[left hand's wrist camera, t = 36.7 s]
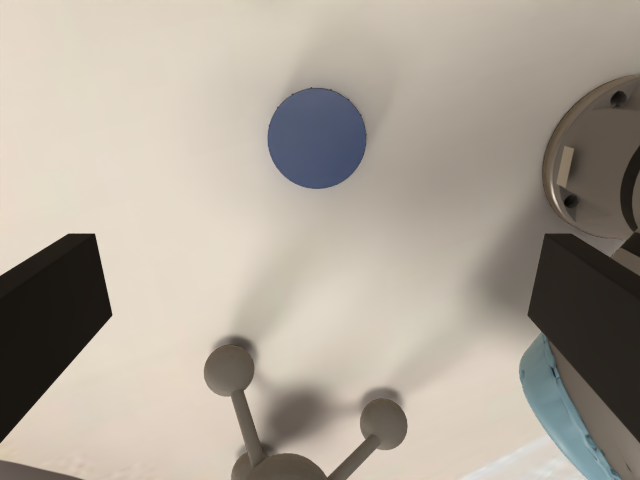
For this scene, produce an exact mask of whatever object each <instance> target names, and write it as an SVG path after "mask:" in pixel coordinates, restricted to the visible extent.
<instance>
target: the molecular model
mask: <svg viewBox="0 0 640 480" xmlns="http://www.w3.org/2000/svg"><path fill="white" fill-rule="evenodd" d="M253 375H254V363H253V360H252V358H251V356H250V354H249V353H248V352H247V351H246V350H245V349H243V348H241V347H239V346H236V345H225V346H222V347H220V348H218V349H216V350H215V351H214V352H213V353H212V354H211V355H210V356H209V357H208V359H207V361H206V363H205V367H204V378H205V381H206V384H207V385H208V387H209V388H210V389H211V390H212V391H213V392H214V393H216V394H218V395H220V396H227V397H229V396H231V398H232V402H233V405H234V408H235V412H236V415H237V418H238V422H239V425H240V428H241V432H242V435H243V438H244V442H245V445H246V448H247V453H245V454H244V455H242V456H241V457H240V458H239V459H238V460H237V461H236V463H235V465H234V467H233V470H232V475H231V480H346V479H347V478H348V477H349V476H350V475H351V474H352V473H353V472H354V471H355V470H356V469H357V468H358V467H359V466H360V465H361V464H362V463H363V462H364V461H365V460H366V458H367V457H368V456H369V455H370V454H371V453H372V452H373V451H374V450H375V449H376V448H377V449H380V450H390V449H393V448H396V447H397V446H398V445H400V444H401V443H402V441H403V440H404V438H405V436H406V433H407V419H406V416H405V414H404V412H403V410H402V409H401V407H400V406H399V405H397V404H396V403H395V402H393V401H391V400H388V399H377V400H374V401H372V402H370V403H369V404H368V405H367V406H366V407H365V408H364V410H363V412H362V414H361V418H360V427H361V432H362V434H363V436H364V438H365V439H366V440H365V441H364V442H363V443H362V444H361V445H360V446H359V447H358V448H357V449H356V450H355V451H354V452H353V453H352V454H351V455H350V456H349V457H348V458H347V459H346V460H345V461H344V462H343V463H342V464H341V465H340V466H339V467H338V468H337V469H336V470H335V471H334V472H333V473H331V474H330V475H329V476H328V477H326V475H325V474H324V472H323V471H322V470H321V469H320V468H319V467H318V466H317V465H316V464H315V463H313V462H312V461H311V460H309V459H308V458H306V457H303V456H300V455H297V454H291V453H283V454H277V455H273V456H270V457H268V456H267V455H266V454H264V453H263V451H262V448H261V445H260V441H259V438H258V435H257V432H256V429H255V426H254V423H253V419H252V416H251V413H250V410H249V407H248V404H247V401H246V397H245V394H244V390H245V389H246V388H247V387H248V386H249V384H250V383H251V381H252V378H253Z"/></svg>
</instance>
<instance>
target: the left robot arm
mask: <svg viewBox="0 0 640 480" xmlns="http://www.w3.org/2000/svg"><path fill="white" fill-rule="evenodd" d="M543 185H544V190H545V193H546V196H547V199H548V201H549V203H550V205H551V206H552V208H553V209H554V211H555V212H556V213H557V214H558V215H559V216H560V217H561V218H562V219H563V220H565V221H566V222H568V223H569V224H571V225H572V226H574V227H576V228H578V229H579V230H581V231H583V232H585V233H588V234H590V235H593V236H597V237H602V238H612V239H624V240H627V241H626V242H625V243H624V244H623V245H622V246H621V247H620V248H619V249H618V250H617V251H616V252H615V253H614V254H613V255H612V256H611V257H608V256H607V255H605V254H603V253H602V252H600V251H599V250H597V249H595V248H594V247H592V246H591V245H589V244H587V243H586V242H584V241H582V240H581V239H579V238H578V237H576V236H574V235H573V234H545V236H544V241H543V246H542V250H541V255H540V260H539V264H538V269H537V274H536V278H535V283H534V287H533V292H532V297H531V301H530V306H529V311H528V316H529V318H530V319H531V320H532V321H533V322H534V323H535V324H536V326H537V327H538V328H539V329H540V330H541V331H542V332H541V333H540V335H539V336H538V337H537V338H536V340H535V341H534V342H533V343H532V345H531V346H530V347H529V348H528V349H527V351H526V352H525V353H524V355H523V356H522V358H521V361H520V366H519V374H520V381H521V383H522V388H523V391H524V394H525V396H526V398H527V401H528V403H529V405H530V407H531V408H532V410H533V412H534V414H535V415H536V417H537V419H538V420H539V422H540V423H541V425H542V426H543V428H544V429H545V431H546V432H547V433H548V435H549V436H550V437H551V439H552V440H553V441H554V443H555V444H556V445H557V446H558V448H559V449H560V450H561V451H562V453H563V454H564V455H565V456H566V457H567V458H568V459H569V461H570V462H571V463H572V464H573V465H574V466H575V467H576V468H577V469H578V470H579V471H580V472H581V473H582V474H583V475H584V476H585V477H586V478H587V479H588V480H640V75H632V76H627V77H622V78H619V79H616V80H613V81H611V82H608V83H606V84H604V85H602V86H600V87H598V88H597V89H595V90H593V91H592V92H590V93H589V94H587V95H586V96H585V97H584V98H582V99H581V100H580V101H579V102H578V103H577V104H575V105H574V106H573V107H572V109H571V110H570V111H569V112H568V113H567V114H566V115H565V117H564V118H563V119H562V120H561V122H560V123H559V125H558V126H557V128H556V130H555V131H554V133H553V135H552V137H551V139H550V142H549V144H548V147H547V150H546V153H545V157H544V163H543ZM111 316H112V311H111V306H110V301H109V297H108V292H107V287H106V283H105V278H104V274H103V269H102V264H101V260H100V255H99V250H98V246H97V241H96V236H95V234H67V235H66V236H64V237H62V238H61V239H59V240H58V241H56V242H54V243H53V244H51V245H49V246H48V247H46V248H45V249H43V250H41V251H40V252H38V253H37V254H35V255H33V256H32V257H30V258H28V259H27V260H25V261H24V262H22V263H20V264H19V265H17V266H15V267H14V268H12V269H11V270H9V271H7V272H6V273H4V274H2V275H1V276H0V443H1V442H2V441H3V440H4V438H5V437H6V436H7V435H8V434H9V433H10V432H11V430H12V429H13V428H14V427H15V426H16V425H17V424H18V422H19V421H20V420H21V419H22V418H23V417H24V416H25V414H26V413H27V412H28V411H29V410H30V409H31V408H32V406H33V405H34V404H35V403H36V402H37V401H38V400H39V399H40V397H41V396H42V395H43V394H44V393H45V392H46V391H47V389H48V388H49V387H50V386H51V385H52V384H53V383H54V381H55V380H56V379H57V378H58V377H59V376H60V375H61V373H62V372H63V371H64V370H65V369H66V368H67V367H68V365H69V364H70V363H71V362H72V361H73V360H74V359H75V357H76V356H77V355H78V354H79V353H80V352H81V351H82V349H83V348H84V347H85V346H86V345H87V344H88V343H89V341H90V340H91V339H92V338H93V337H94V336H95V335H96V333H97V332H98V331H99V330H100V329H101V328H102V327H103V326H104V324H105V323H106V322H107V321H108V320H109V319H110V318H111Z"/></svg>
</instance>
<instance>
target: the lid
mask: <svg viewBox="0 0 640 480" xmlns="http://www.w3.org/2000/svg"><path fill="white" fill-rule="evenodd" d="M365 146H366V131H365V126H364V123H363V120H362V118H361V114H359V112H358V110H357V109H356V108H355V106H354V105H353V104H352V103H351V102H350V101H349V99H346V98H345V97H344V96H342V95H341V94H339V93H337V92H335V91H332V89H330V90H328V89H323V88H312V87H311V89H306V90H302V91H299V92H297V93H295V94H292V96H290V97H289V98H287V99H286V100H285V101H284V102H283V103H282V104H281V105H280V106H279V107H277V110H276V111H275V113H274V115H273V117H272V119H271V122H270V125H269V130H268V147H269V151H270V155H271V158H272V160H273V162H274V164H275V165H276V167H277V168H278V170H279V171H280V172H281V173H282V174H283V175H284V176H285V177H286V178H287V179H289V180H290V181H292V182H293V183H295V184H297V185H300V186H303V187H306V188H312V189H321V188H328V187H332V186H334V185H337V184H339V183H341V182H343V181H344V180H345V179H347V178H348V177H349V176H350V175H351V174H352V173H353V172H354V171H355V170H356V168H357V167H358V165H359V164H360V162H361V160H362V158H363V155H364V151H365Z"/></svg>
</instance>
